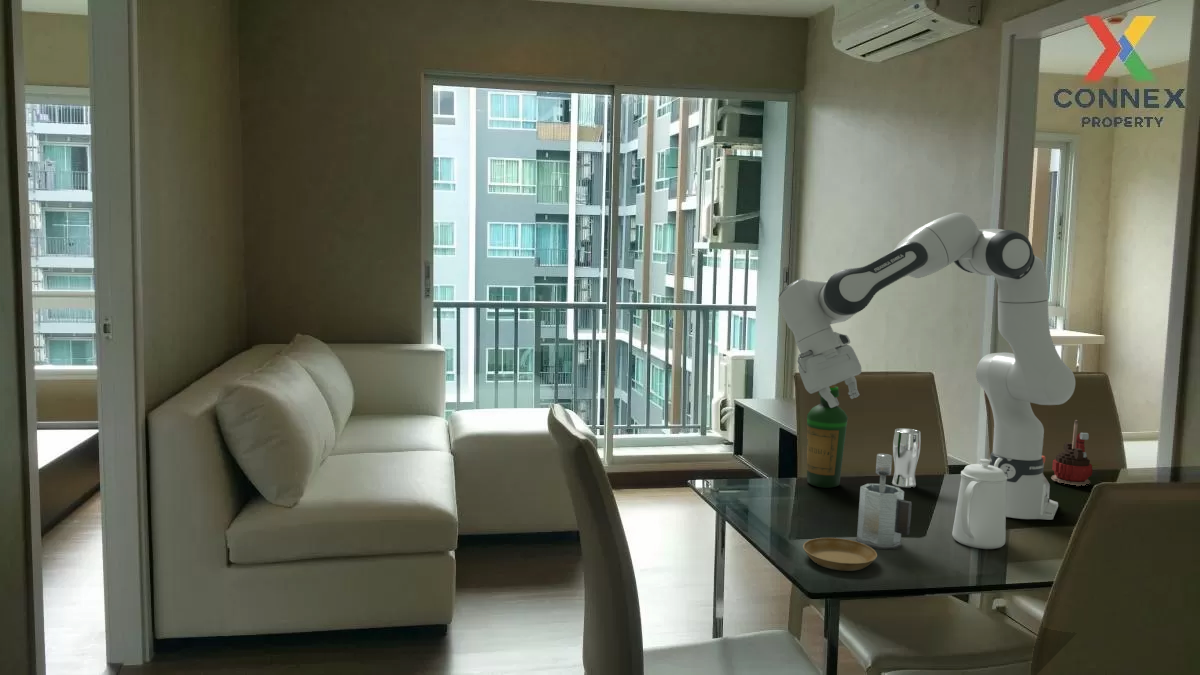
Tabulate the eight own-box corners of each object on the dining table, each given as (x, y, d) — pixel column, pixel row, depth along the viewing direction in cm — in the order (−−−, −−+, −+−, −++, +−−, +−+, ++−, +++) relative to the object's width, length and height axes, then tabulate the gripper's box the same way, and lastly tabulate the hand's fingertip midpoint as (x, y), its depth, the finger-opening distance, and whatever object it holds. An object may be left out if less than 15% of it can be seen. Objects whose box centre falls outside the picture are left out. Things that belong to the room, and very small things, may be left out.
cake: (1046, 477, 257) (1051, 415, 255) (1080, 479, 255) (1086, 417, 253) (1059, 487, 246) (1065, 423, 244) (1095, 489, 245) (1102, 425, 243)
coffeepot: (1020, 533, 205) (1027, 453, 203) (987, 562, 186) (994, 474, 183) (971, 523, 212) (977, 445, 209) (934, 549, 192) (941, 464, 190)
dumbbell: (873, 525, 199) (878, 451, 197) (896, 531, 195) (901, 455, 194) (861, 530, 195) (867, 454, 193) (885, 536, 192) (890, 459, 190)
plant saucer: (891, 571, 179) (892, 558, 179) (829, 578, 174) (829, 565, 174) (847, 546, 193) (848, 535, 193) (788, 553, 188) (789, 540, 188)
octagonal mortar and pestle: (868, 532, 202) (872, 480, 201) (916, 545, 195) (920, 491, 193) (849, 541, 195) (852, 488, 194) (897, 555, 188) (901, 499, 187)
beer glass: (895, 479, 248) (898, 426, 247) (920, 484, 244) (924, 430, 243) (886, 485, 243) (890, 430, 241) (912, 489, 239) (916, 434, 237)
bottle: (794, 480, 244) (800, 379, 241) (826, 477, 248) (833, 378, 245) (819, 491, 234) (825, 386, 231) (851, 488, 239) (858, 384, 235)
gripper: (806, 349, 197) (833, 407, 194) (851, 334, 211) (877, 388, 209) (784, 360, 201) (811, 416, 199) (830, 345, 216) (855, 397, 213)
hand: (845, 401), depth 204 cm, fingers open, 8 cm apart
